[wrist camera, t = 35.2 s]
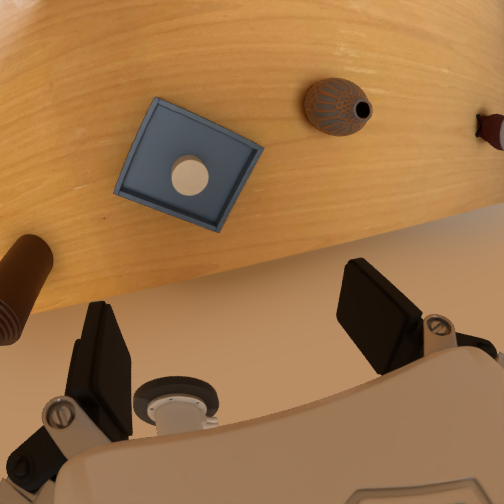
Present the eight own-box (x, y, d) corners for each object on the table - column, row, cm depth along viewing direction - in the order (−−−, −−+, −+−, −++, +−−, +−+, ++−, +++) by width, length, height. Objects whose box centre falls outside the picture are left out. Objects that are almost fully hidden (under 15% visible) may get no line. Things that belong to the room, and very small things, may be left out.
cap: (204, 153, 31) (208, 158, 29) (206, 185, 33) (210, 193, 30) (169, 156, 30) (170, 162, 28) (172, 189, 32) (173, 197, 29)
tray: (259, 145, 33) (264, 148, 31) (216, 226, 36) (219, 233, 35) (155, 97, 27) (154, 96, 25) (115, 188, 31) (112, 193, 29)
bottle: (56, 242, 31) (3, 344, 16) (50, 282, 33) (11, 387, 18) (15, 228, 28) (-53, 318, 13) (13, 269, 30) (-39, 365, 15)
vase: (332, 140, 35) (373, 154, 28) (287, 117, 32) (323, 124, 25) (352, 95, 33) (397, 99, 25) (309, 69, 30) (350, 64, 22)
